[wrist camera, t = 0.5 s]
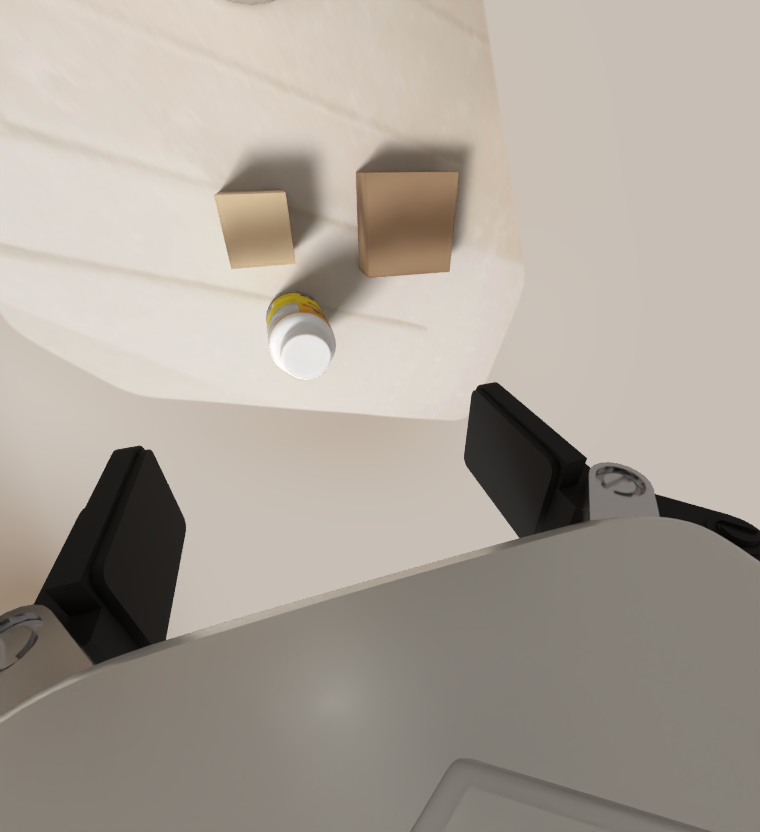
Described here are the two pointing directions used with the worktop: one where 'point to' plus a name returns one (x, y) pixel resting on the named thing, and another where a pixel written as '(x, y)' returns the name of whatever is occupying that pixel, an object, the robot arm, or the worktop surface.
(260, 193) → the oak cube
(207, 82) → the worktop surface
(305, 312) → the supplement bottle
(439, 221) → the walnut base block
